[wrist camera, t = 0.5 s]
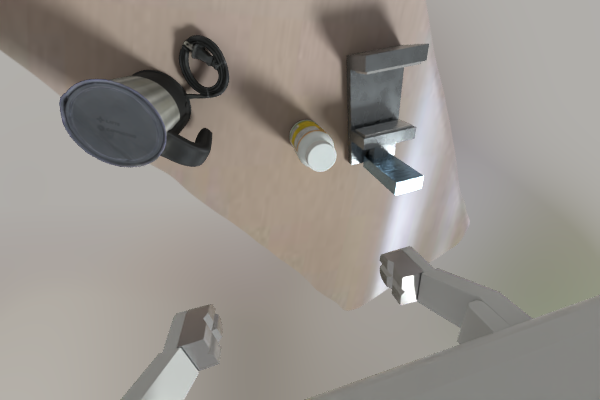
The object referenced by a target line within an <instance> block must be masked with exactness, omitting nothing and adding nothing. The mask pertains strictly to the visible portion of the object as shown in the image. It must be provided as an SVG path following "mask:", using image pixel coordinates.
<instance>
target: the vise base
mask: <svg viewBox="0 0 600 400" xmlns="http://www.w3.org/2000/svg"><path fill="white" fill-rule="evenodd" d="M428 47H429V44H414V45H399V46H394V47H389V48H383V49H378V50H373V51H368V52H362V53H357V54H352V55H347V96H348V146H349V163H350V164H351V165H354V164H358V163H363V162H364V156H366V155H369V150H370V149H368V150H363V149H361V148H360V147H359V146H358V145H356V144H355V143H354V142H352V141H351V130H355V129H359V128H363V127H368V126H372V125H376V124H381V123H385V122H390V121H394V120H398V117H399V108H400V98H401V89H402V80H403V71H404V67H407V66H412V65H417V64H421V61H425V60H427V53H428ZM395 145H396V143H393V144H389V148H388V152H389V153H390V154H392V155H394V154H395Z"/></svg>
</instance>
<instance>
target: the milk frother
mask: <svg viewBox="0 0 600 400" xmlns="http://www.w3.org/2000/svg"><path fill="white" fill-rule="evenodd" d="M205 48H207V49H208V50H209V51H210V52H211V53H212V54H213V56H212V55H211V54H210V53H208V52H207V51H206V50H205ZM190 50H191V51H192V55H191V56H192V58H194V59H200V60H202V61H204V62H206V63H207V65H208V66H212V67H214V69H216V70H217V71H218V74H219V78H218V81H217V83H216V84H215V85H214V86H212V87H204V86H202V85H200V84H199V83H198V82H197V81H196V80H195V78H194V77H193V75H192V73H191V71H190V67H189V62H188V58H189V52H190ZM179 63H180V66H181V69H182V73H183V75H184V77H185V79H186V81H187V82H188V84H189V85H190V86H191V87H192V88H193V89H194V90H196V91H197V92H199V93H200V94H186V92H185V90H184V89H183V88H182V86H181V85H180V84H179V83H178V82H177V81H175V80H174V79H173V78H172V77H170V76H168V75H166V74H164V73H162V72H159V71H155V70H143V71H139V72H137V73H135V74H133V75H132V76H128V77H122V78H117V79H111V80H106V79H89V80H84V81H81V82H79V83H77V84H75V85H73V86H72V87H70V88H69V89H68V91H67V92H66V93H64V94H63V95H62V96H61V97H60V103H59V105H60V112H61V117H62V122H63V125H64V126H65V128H66V130H67V132H68V134H69V135H70V137H71V138H72V139H73V140H74V141H75V142H76V143H77V144H78V146H80V147H81V148H82V149H83V150H84V151H85V152H87V153H88V154H90V155H92V156H93V157H96V158H97V159H99V160H101V161H103V162H106V163H109V164H112V165H115V166H120V167H140V166H144V165H146V164H149V163H151V162H153V161H155V160H156V159H157V158H158V157H159V156H163V157H165V158H167V159H169V160H171V161H174V162H176V163H179V164H181V165H185V166H191V167H195V166H199V165H201V164H202V163H203V162H204V161H205V160H206V158H207V157H208V155H209V153H210V150H211V144H212V132H211V131H210V130H208V129H206V128H203V129H202V130H201V131H200V132H199V134H198V135H197V138H196V141H195V143H194V142H191V141H189V140H187V139H185V138H183V137H182V136H180V135H178V134H179V133H180V132H181V131H182V129H183V128H184V127H185V125H186V124H187V123H188V121H189V119H190V115H191V105H190V101H189V99H193V98H211V97H216V96H219V95H221V94H222V93H223V92H224V91H225V90H226V88H227V86H228V83H229V71H228V67H227V63H226V61H225V58H224V56H223V54H222V52H221V50H220V49H219V47H218V46H217V45H216V44H215V43H214V42H213V41H212V40H210V39H209V38H207V37H204V36H200V35H196V36H191V37H190V38H189V39H187V40H186V41H184V44H183V45H182V49H181V51H180V55H179Z"/></svg>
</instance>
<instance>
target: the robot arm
mask: <svg viewBox="0 0 600 400" xmlns="http://www.w3.org/2000/svg"><path fill="white" fill-rule="evenodd" d="M380 261H381V263H382V265H381V266H380V274H381V278H382V280H383V282H384V283H385V285H386V286H387V287H389V288H391V289H392V295H393V296H394V297H395V299H396V300H397V301H398V303H399V304H400V305H404V304H408V303H411V302H414V301H418V302H419V303H420V304H422V305H424V306H425V307H427V308H428V309H430V310H432V311H434V312H435V313H437V314H438V315H440V316H442V317H443V318H445V319H446V320H448V321H450V322H451V323H453V324H455V325H457V326H458V327H460V332H459V335H458V338H457V341H458V343H459V344H460V345H457V346H454V347H452V348H449V349H446V350H443V351H441V352H437V353H435V354H432V355H429V356H426V357H424V358H421V359H418V360H415V361H412V362H410V363H406V364H404V365H401V366H398V367H395V368H393V369H390V370H387V371H384V372H381V373H379V374H375V375H373V376H370V377H367V378H364V379H361V380H359V381H356V382H353V383H350V384H348V385H344V386H342V387H339V388H336V389H333V390H331V391H328V392H325V393H322V394H319V395H316V396H314V397H311V398H308V399H305V400H600V295H598V296H595V297H592V298H589V299H587V300H584V301H581V302H578V303H575V304H572V305H570V306H567V307H564V308H561V309H558V310H556V311H553V312H550V313H547V314H544V315H541V316H539V317H536V318H531V317H530V316H529V315H528V314H526V313H525V312H524V311H523V310H521V309H520V308H519V307H518V306H517V305H515V304H514V303H513V302H511V301H510V300H509V299H508V298H507V297H505V296H504V295H503V294H502V293H500V292H499V291H496V290H493V289H491V288H488V287H485V286H483V285H480V284H477V283H475V282H473V281H470V280H467V279H465V278H462V277H460V276H457V275H454V274H452V273H449V272H446V271H444V270H441V269H438V268H437V269H434V268H433V267H432V266H431V265H430V264H429V263H428V262H427V261H426V260H425V259H424V258H423V257H422V256H421V255H420V254H419V253H418V252H417V251H415V250H414V249H413V248H412V247H410V246H409V247H405V248H402V249H398V250H395V251H392V252H388V253H385V254H382V255H381V256H380ZM221 338H222V322H221V319H220V317H219V315H218V314H215V308H214V306H213V304H210V305H206V306H202V307H199V308H195V309H191V310H188V311H184V312H180V313H177V314H176V315H175V316H174V318H173V321H172V324H171V327H170V331H169V334H168V337H167V340H166V343H165V346H164V350H163V352H162V353H160V354H158V355H157V357H156V358H155V359H154V360H153V361H152V362H151V364H150V365H149V366H148V367H147V369H146V370H145V371H144V372H143V373H142V375H141V376H140V377H139V378H138V379H137V381H136V382H135V383H134V384H133V385H132V387H131V388H130V389H129V390H128V391H127V393H126V394H125V395H124V396H123V397H122V399H121V400H184V399H185V397H186V395H187V393H188V392H189V390H190V388H191V386H192V384H193V382H194V380H195V379H196V377H197V375H198V373H199V371H200V370H203V369H206V368H209V367H211V366H214V365H217V364H219V362H220V352H221V347H220V345H219V343H218V342H219V341H220V339H221Z"/></svg>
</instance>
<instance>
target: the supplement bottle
mask: <svg viewBox="0 0 600 400" xmlns="http://www.w3.org/2000/svg"><path fill="white" fill-rule="evenodd" d="M289 138H290V143H291V145H292V147H293V148H294V150H295V152H296V154H297V156H298V157H299V159H300V161H301V162H302V163H303V164H304V165H306V166H308V167H310V168H311V169H313V170H314V171H318V172H322V171H326V170H328V169H329V168H331V167H332V166H333V164H334V163H335V161H336V151H335V149H334V143H333V140H332V139H331V137H330V136H329V135H328V134H327V133H326V132H325V131H324V130H323V129H321V128H320V127H319V126H318V125H317V124H316V123H314V122H313V121H311V120H302V121H299V122H297V123H296V124H295V125H294V126H293V127H292V129H291V131H290V136H289Z"/></svg>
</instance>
